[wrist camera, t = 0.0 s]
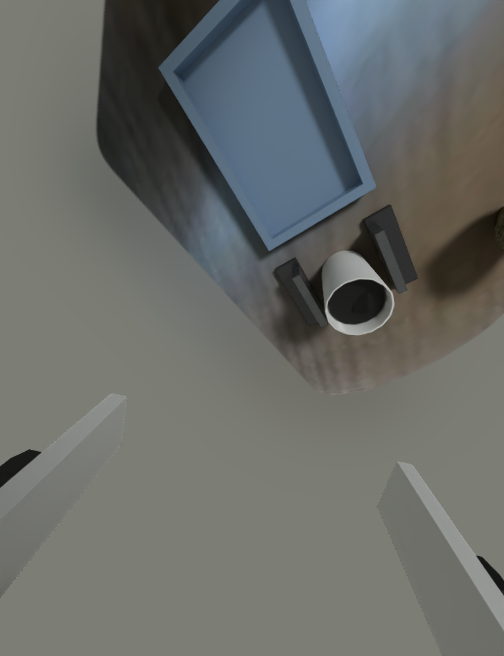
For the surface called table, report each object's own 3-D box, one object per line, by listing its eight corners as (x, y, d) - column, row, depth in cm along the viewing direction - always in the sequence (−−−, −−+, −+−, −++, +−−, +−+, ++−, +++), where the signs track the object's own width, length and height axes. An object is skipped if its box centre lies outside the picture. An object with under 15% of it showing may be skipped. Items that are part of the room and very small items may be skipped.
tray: (281, -47, 22) (279, -67, 20) (370, 184, 30) (376, 187, 28) (168, 74, 27) (158, 67, 25) (270, 245, 35) (269, 251, 33)
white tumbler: (371, 242, 34) (396, 272, 25) (370, 291, 37) (392, 332, 29) (316, 251, 35) (323, 282, 27) (319, 297, 38) (327, 337, 30)
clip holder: (389, 204, 31) (400, 210, 28) (415, 276, 35) (428, 289, 32) (275, 268, 37) (273, 279, 34) (309, 323, 41) (310, 338, 38)
